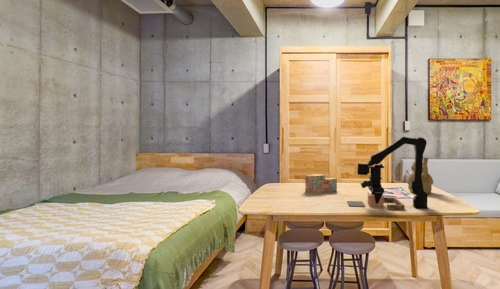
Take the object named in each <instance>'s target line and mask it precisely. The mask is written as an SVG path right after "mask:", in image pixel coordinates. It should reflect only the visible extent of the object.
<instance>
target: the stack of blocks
mask: <svg viewBox="0 0 500 289" xmlns="http://www.w3.org/2000/svg"><path fill="white" fill-rule="evenodd" d="M304 177H305V179H304V182H305V183H304V184H305V186H304V187H305V191H304V192H306V193H307V194H321V193H335V192H337V191H338V190H337V189H338V182H337V178H335V177H326V175H325V174H322V173H318V174H317V173H316V174H305V176H304Z"/></svg>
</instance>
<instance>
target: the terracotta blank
mask: <svg viewBox="0 0 500 289" xmlns="http://www.w3.org/2000/svg"><path fill="white" fill-rule="evenodd" d="M384 203H385V202H384V194H383V195H382V196H381V198H380V200H379V202H378V204H376V202H375V196H374V194H371V193H367V205H368V206H369V207H384Z"/></svg>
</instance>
